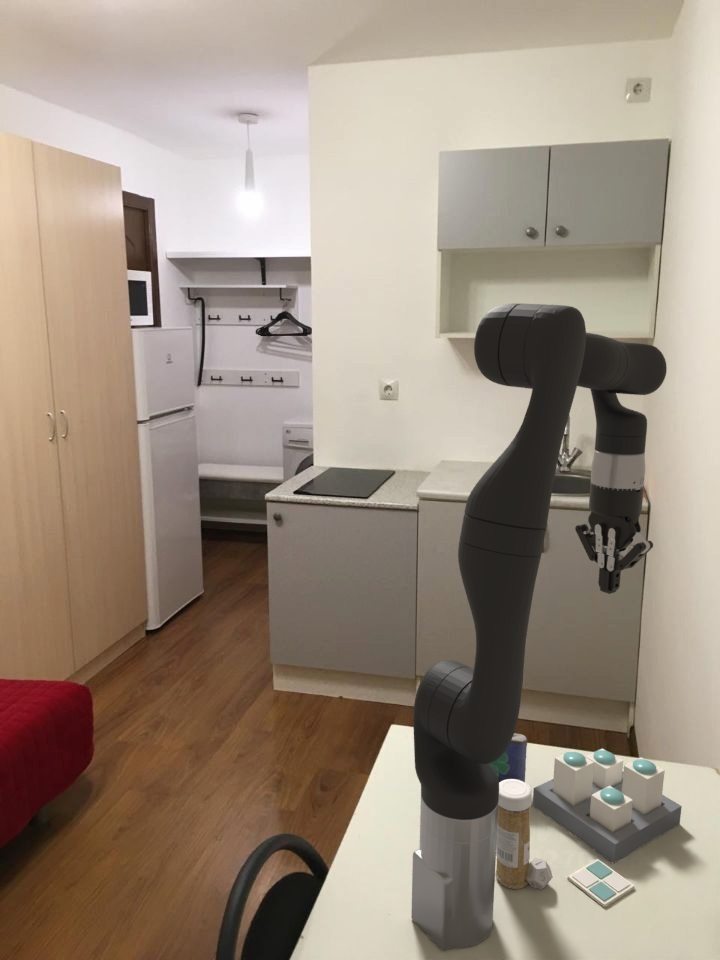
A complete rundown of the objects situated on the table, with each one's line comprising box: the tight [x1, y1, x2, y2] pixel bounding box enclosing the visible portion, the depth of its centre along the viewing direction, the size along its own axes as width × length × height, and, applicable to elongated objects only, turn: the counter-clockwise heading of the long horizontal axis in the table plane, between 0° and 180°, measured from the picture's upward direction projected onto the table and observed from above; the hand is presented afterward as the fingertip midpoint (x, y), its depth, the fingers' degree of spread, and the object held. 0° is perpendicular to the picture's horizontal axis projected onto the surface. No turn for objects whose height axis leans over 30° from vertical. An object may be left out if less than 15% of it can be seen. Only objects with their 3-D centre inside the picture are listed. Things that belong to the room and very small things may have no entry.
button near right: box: [590, 786, 633, 833], centre depth 109 cm, size 4×4×6 cm
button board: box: [532, 770, 682, 864], centre depth 114 cm, size 15×15×3 cm
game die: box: [526, 857, 554, 891], centre depth 100 cm, size 4×4×3 cm
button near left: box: [552, 749, 594, 807], centre depth 114 cm, size 4×4×6 cm
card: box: [567, 858, 635, 908], centre depth 100 cm, size 6×6×1 cm
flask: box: [489, 732, 528, 783], centre depth 121 cm, size 9×3×11 cm, turn 61°
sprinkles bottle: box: [495, 779, 533, 890], centre depth 100 cm, size 5×5×13 cm
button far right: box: [622, 756, 665, 815], centre depth 112 cm, size 4×4×6 cm
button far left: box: [584, 748, 624, 789], centre depth 118 cm, size 4×4×6 cm
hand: (608, 591), depth 116 cm, fingers closed
